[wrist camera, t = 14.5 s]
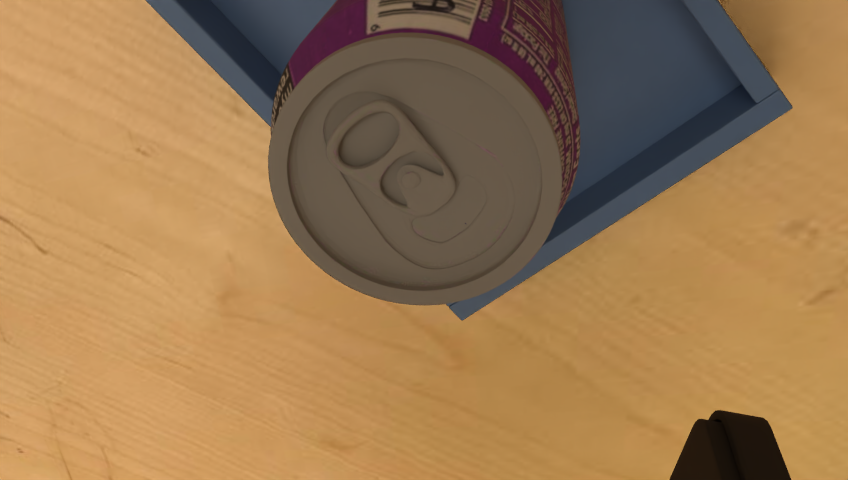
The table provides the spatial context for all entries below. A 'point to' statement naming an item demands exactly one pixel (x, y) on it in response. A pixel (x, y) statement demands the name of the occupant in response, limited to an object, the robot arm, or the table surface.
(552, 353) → the table surface
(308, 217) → the beverage can
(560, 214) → the can tray
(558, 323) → the table surface
